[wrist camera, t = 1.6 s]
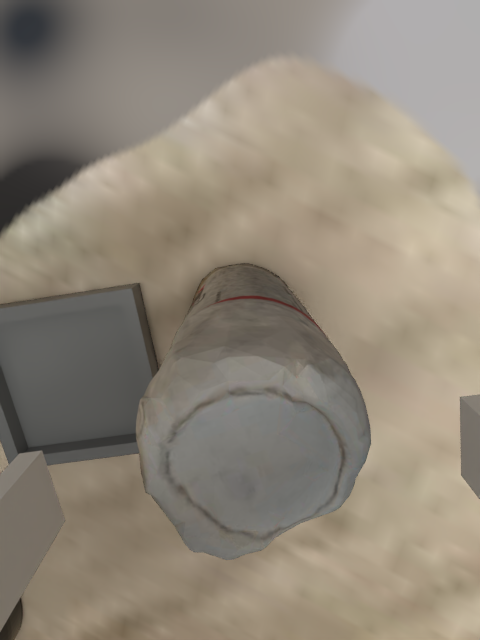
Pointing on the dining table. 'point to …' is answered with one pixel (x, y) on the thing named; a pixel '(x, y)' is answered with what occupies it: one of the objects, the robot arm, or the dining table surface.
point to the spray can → (249, 418)
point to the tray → (74, 374)
